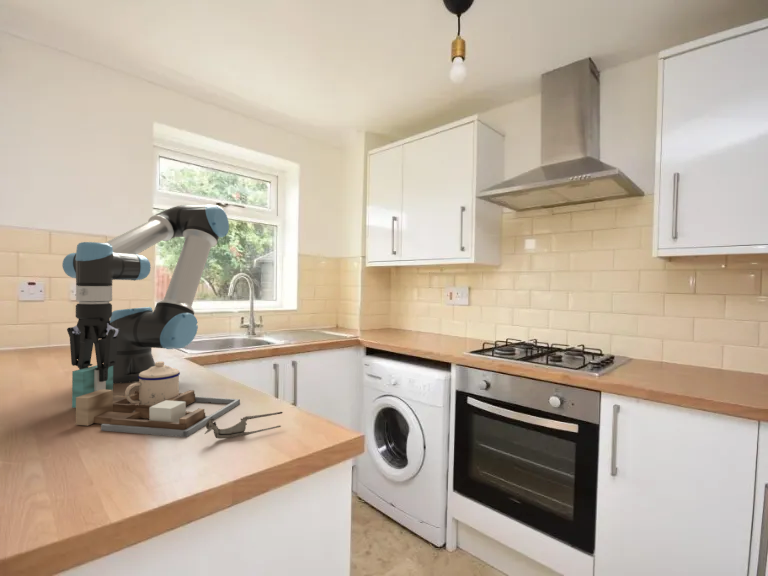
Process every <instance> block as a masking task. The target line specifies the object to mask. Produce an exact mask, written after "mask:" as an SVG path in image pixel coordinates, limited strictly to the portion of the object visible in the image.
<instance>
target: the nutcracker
mask: <svg viewBox="0 0 768 576" xmlns="http://www.w3.org/2000/svg"><path fill="white" fill-rule="evenodd" d="M283 413H284V411H279V412H278V411H277V412H273V413H270V412H269V413H265V414H256V415H247V416H244V417H242V418H240V421H239V422H238V423H236V424H234V425H232V426H230V427H227V428H219V427H218V426H217V422H216V421H215V420H214V418H213V419H209V421H207V423H206V425H205V426H204V427H205V428H206V429H207V430H206V431H205V433H204V435H206V434H208V433H210V432H211V431H212V430H213V434H214V437H215V438H216V439H222V440H223V439H231V438H232V439H233V438H237V437H242V436H246V435H251V434H256V433H258V432H259V433H260V432H263V431H267V430H272V429H275V428H281V426H282V425H276V426H272V427H268V428H263V429H258V430H254V431H253V430H252V431H246V427H247V425H248V424H247V421H248V420H253V419H259V418H263V417H270V416H276V415H282V414H283ZM213 421H214V422H213Z"/></svg>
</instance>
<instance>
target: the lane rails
mask: <svg viewBox="0 0 768 576" xmlns="http://www.w3.org/2000/svg"><path fill="white" fill-rule="evenodd" d="M208 402H211V404H222V403H226V404H225V406H223V407H222V408H220V409H218V410H216V411H215V412H213V413H211V414H209V415H206V414H205V418H204V419H203V420H201V421H199V422H198V423H196V424H194V425H193V426H191V427H189V428H188V429H186V430H177V429H164V428H151V427H138V426H125V425H112V424H100V431H101V432H102V431H105V432H117V433H130V434H141V435H155V436H165V437H166V436H168V437H180V438H181V437H184V438H187V437H189V436H191V435H192V434H194V433H195V432H197V431H198V430H200V429H202V428H204V427H206V426H205V425H206V423H207V421H209V419H213V418H214V420H213V421H215V420H216V419H218V418H220V417H221V416H223V415H224V414H226V413H227V412H229V411H231V410H232V409H234V408H236V407H237V406H239V405H241V400H240V398H239V399H238V398H224V397H211V396H210V397H209V396H205V397H204V396H196V395H195V402H194V403H208ZM235 406H236V407H235ZM133 412H135V411H133Z"/></svg>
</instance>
